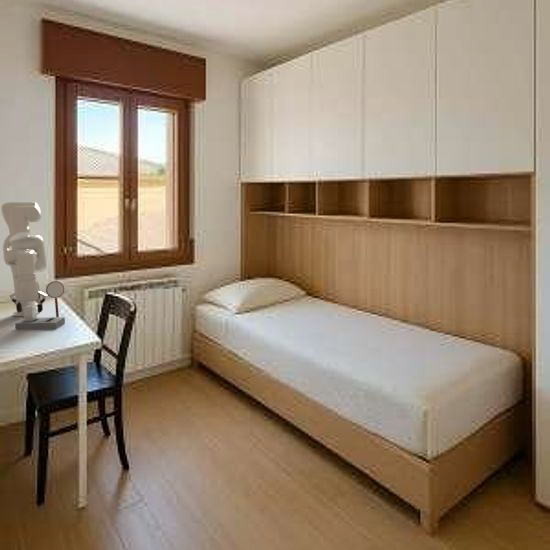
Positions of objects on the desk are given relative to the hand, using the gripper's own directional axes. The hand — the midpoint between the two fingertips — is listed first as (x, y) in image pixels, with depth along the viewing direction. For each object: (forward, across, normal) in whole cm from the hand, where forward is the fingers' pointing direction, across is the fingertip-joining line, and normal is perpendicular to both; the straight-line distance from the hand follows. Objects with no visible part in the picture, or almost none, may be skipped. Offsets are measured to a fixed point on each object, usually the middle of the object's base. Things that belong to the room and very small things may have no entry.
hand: (30, 312), depth 235 cm
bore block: (+7, +5, -1) cm, 9 cm away
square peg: (+7, 0, -1) cm, 7 cm away
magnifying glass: (+7, +8, +12) cm, 16 cm away
